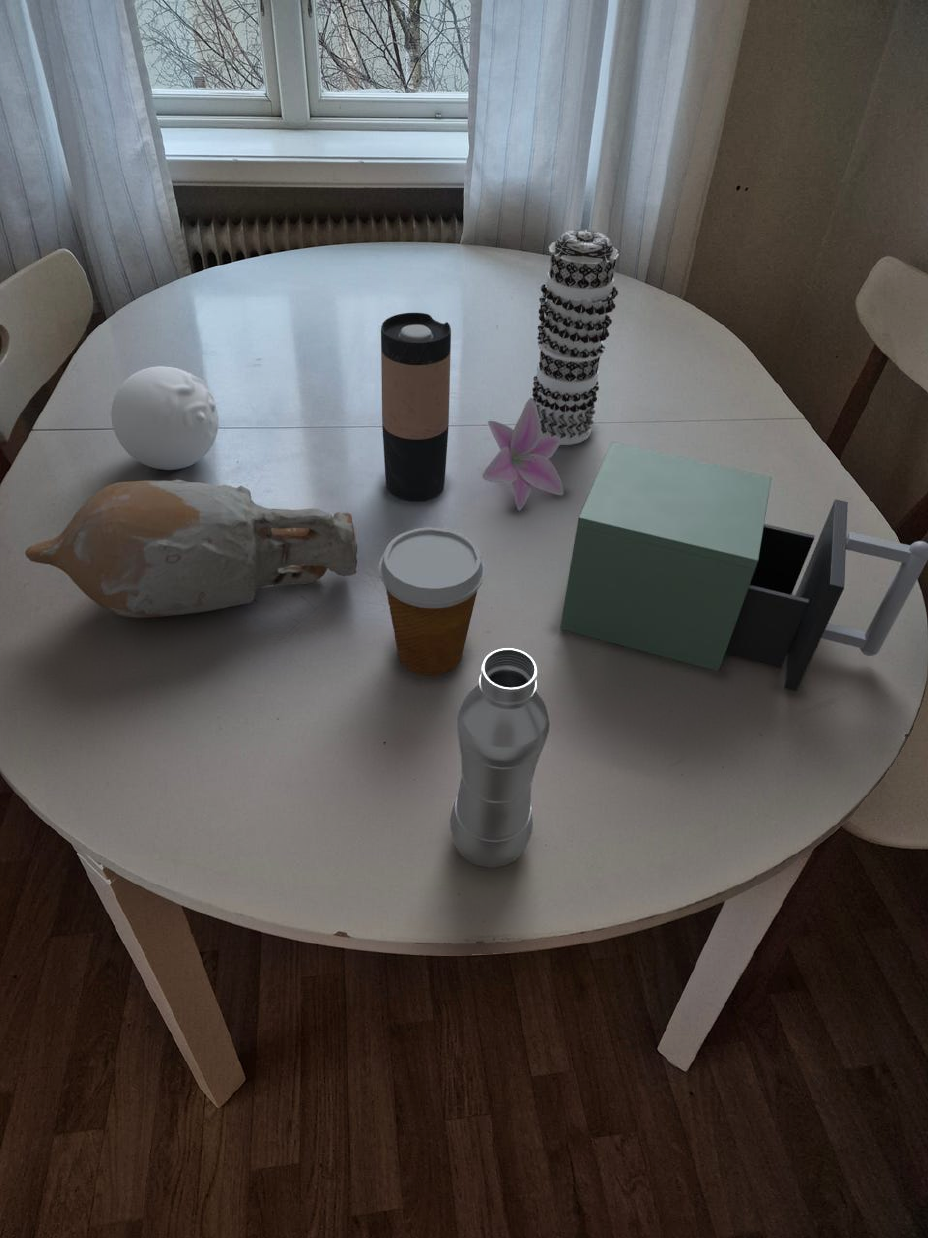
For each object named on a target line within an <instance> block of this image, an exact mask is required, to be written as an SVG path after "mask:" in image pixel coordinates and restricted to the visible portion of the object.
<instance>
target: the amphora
mask: <svg viewBox="0 0 928 1238" xmlns="http://www.w3.org/2000/svg"><path fill="white" fill-rule="evenodd" d="M358 546H359V545H358V543H357V539H356V531H355V526H354V523H353V517H352V514H350V513H349V512H335V513H334V514H333V515H332V514H331V513H329V512H327V511H324V510H322V509H320V508H317V507H312V508H301V509H287V508H269V507H265V506H262V505H259V504H257V503H255V502H254V500H253V498H252V493H251V490H250V489H248V488H246V487H244V486H242V485H239V486H238V487H234V486H231V485H229V484H228V485H227V484H222V485H217V484H210V483H209V484H208V483H204V482H198V481H197V482H195V481H193V482H192V481H185V480H183V479H174V480H133V481H121V482H120V481H119V482H114V483H111V484H108V485H106V486H104V487H103V488H102V489H100V490H98V491H96V493H94V494H92V496H90V497H89V498H88V499H87V500H86V501H85V502H84V503H83V504H82V505H81V506H80V507H79V509H78V510H77V511H76V513H75V514H74V515H73V516H72V518H71V519H70V521H69V522H68V524H67V525H66V527H65V528H64V529H63V530H62V532H61V533H60V534H59V535H57V536H56V537H54V538H52V539H49V540H45V541H41V542H38V543H34V544H32V545H30V546H28V547H27V548H26V549H25V557H26V558H27V559H28V560H29V561H30V562H33V563H37V564H43V565H49V566H51V567H55V568H57V569H59V570H61V571H62V572H64V573H65V574H66V575H67V576H68V577H69V579H70V580H71V581H72V582H73V583H74V584H75V585H76V586H77V587H78V588H79V590H81V591H82V593H83V594H84V595H86V596H87V597H88V598H89V599H90V600H92V601H93V602H94V603H95V604H97V605H98V606H99V607H101V608H102V609H104V610H106V611H108V612H109V613H111V614H114V615H118V616H121V617H125V618H136V619H137V618H139V619H140V618H142V619H143V618H157V617H159V618H160V617H169V616H180V615H189V614H195V613H196V614H197V613H203V612H209V611H215V610H221V609H227V608H230V607H237V606H241V605H246V604H250V603H252V602H254V599H255V598H256V597H255V596H256V592H257V589H258V588H263V587H267V586H268V587H269V586H279V585H280V586H281V585H296V584H299V585H300V584H301V585H302V584H303V585H308V584H310V583H316V582H317V581H319V580H321V578H322V577H323V576H324V575H325V574H326V572H327V570H329V571H330V572H333V573H335V574H336V575H337V576H341V577H350V576H352V575H356V573H357V567H358V566H357V565H358V557H357V554H358Z"/></svg>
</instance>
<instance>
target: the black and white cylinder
mask: <svg viewBox="0 0 928 1238" xmlns="http://www.w3.org/2000/svg"><path fill="white" fill-rule="evenodd" d="M548 249H549V253H550V254H551V257H550V261H549V262H550V265H549V271H548V272H547V275H546V284H542V285H541V286H540V291H541V292H542V295H541V296H540V297H539V299H538V300H539V303H540V305H539V306H540V308H539V309H538V314H539V315H538V320H539V321H540V324H539V325H538V326H537V330H538V333H537V334H538V336H537V337H536V339H537V346H538V349H539V350H540V352H539V361H538V363H537V364H536V365H537V366H536V374H535V375H534V376H533V383H532V384H533V387H532V397H531V398H532V399H533V400H534V402H535V404H536V407H537V410H538V414H539V418H540V423H541V436H554V437H558V438H560V439H561V443H560V445H559V446H573V445H576V444H581V443H582V442H584V441H586V440H587V439H589V437H590V435H591V433H592V427H591V426H592V425H594V420H593V419H594V416H593V415H595V413H596V410H595V403H596V402H597V401H598V397H597V392H598V391H599V390H600V386H599V381H598V380H599V374H600V371H599V365H600V359H601V357H602V356H603V354H604V353H605V351H606V346H605V342H604V341H606V340H607V338H608V337H610V332H609V329H608V328H609V327H610V325H612V322H613V320H612V319H611V317H610V315H609V313H612V312H613V310H615V308H616V303H615V301H614V299H616V297H617V296H618V294H619V291H618V289H617V287H616V286H614V283H615V279H614V274H615V267H616V261H617V258H618V257H619V255H620V254H619V251H618V249H617V248H616V247H614V246H613V245H612V242H611V239H610V238H609V237H608V236H607V235H606V234H603V233H601V232H598V231H595V230H590V229H571V230H568V231H565V232H563V233H562V234H561V235H560V237H559V238H557V240H555V241H553V242H551V244H550V245H549V246H548Z"/></svg>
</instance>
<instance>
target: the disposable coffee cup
mask: <svg viewBox="0 0 928 1238" xmlns="http://www.w3.org/2000/svg"><path fill="white" fill-rule="evenodd" d="M486 571H487V569H486V563H485V561H484V560H483V557H482V556H481V552H480V550H479V547H478V546H477V545H476V544H475V542H474V541H472V540H471V539H470V538H469V537H467V536H466V535H464V534H463V533H460V532H458V531H456V530H452V529H449V528H443V527H435V526H434V527H432V526H430V527H419V528H415V529H412V530H408V531H405V532H403V533H401V534H398V535H397V536H396V537H394V538H393V539H392V540H391V541H389V543H388V544H387V545H386V548H385V550H384V553H383V554H382V556H381V557H380V560H379V562H378V574H379V579H380V580H381V582H382V584H383V585H384V588H385V590H386V596H387V601H388V606H389V611H390V612H389V613H390V616H391V617H390V619H391V624H392V629H393V634H394V639H395V645H396V648H397V655H398V659H399V661H400V663H401V664H402V665H403V666H404V667H405V668H406V669H408V670H409V671H411V672H413V673H415V674H419V675H422V676H423V675H424V676H438V675H443V674H445V673H449V672H450V671H452V670H453V669H454V668H456V667H457V666H458V665H459V664H460V663H461V660H462V658H463V653H464V648H465V644H466V641H467V637H468V633H469V632H468V631H469V629H470V624H471V619H472V615H473V611H474V606H475V603H476V598H477V595H478V594H477V593H478V590H479V589H480V587H481V586H482V584H483V582H484V580H485V577H486Z"/></svg>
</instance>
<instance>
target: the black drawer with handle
mask: <svg viewBox="0 0 928 1238" xmlns="http://www.w3.org/2000/svg"><path fill="white" fill-rule="evenodd" d="M848 503H849V502H848V501H845V500H840V499H834V501H833V503H832V505H831V508H830V510H829V513H828V515H827V518H826V520H825V522H824V525H823V526H822V529H821V532H820V535H819V537H818V540H817V542H816V543H815V547H814V548H813V549H814V550H813V552H812V554H811V557H810V559H809V561H808V565H807V566H806V569H805V571H804V574H803V576H802V578H801V581H800V583H799V586H798V588H797V590H796V592H795V595H793V592H794V590H795V588H796V585H797V583H798V580H799V577H800V575H801V573H802V570H803V568H804V565H805V562H806V560H807V558H808V555H809V553H810V550H811V548H812V545H813V544H814V540H815V535H814V534H811V533H806V532H802V531H798V530H793V529H789V528H784V527H781V526H775V525H771V524H768V523H764V528H763V534H762V540H761V547H760V553H759V559H758V563H757V566H756V568H755V571H754V574H753V577H752V580H751V582H750V585H749V588H748V591H747V594H746V596H745V599H744V602H743V605H742V608H741V610H740V613H739V616H738V619H737V621H736V624H735V627H734V630H733V633H732V635H731V638H730V641H729V644H728V647H727V649H726V652H725V655H727V656H731V657H735V658H738V659H742V660H746V661H750V662H754V663H757V664H761V665H764V666H768V667H773V668H776V669H779V670H781V669H782V667H783V664H784V662H785V660H786V659H787V660H786V666H785V676H784V687H783V688H784V689H787V690H791V691H794V692H797V691H798V690H799V688H800V685H801V684H802V681H803V679H804V677H805V674H806V672H807V670H808V667H810V666H809V665H810V664H811V661H812V660H813V657H814V655H815V653H816V650H817V648H818V646H819V644H820V642H821V639H823V640H826V641H827V640H828V641H831V642H836V643H839V644H843V645H847V646H851V647H855V648H859V649H860V651H861V653H862V654H863V655H864V656H868V657H873V656H875V655H877V654H878V653H879V652H880V650H881V649H882V647H883V644H884V643H885V641H886V639H887V637H888V635H889V634H890V631H891V630H892V628H893V626H894V624H895V622H896V620H897V618H898V617H899V614H900V613H901V611H902V609H903V607H904V605H905V603H906V601H907V600H908V598H909V596H910V593H911V592H912V590H913V588H914V587H915V585H916V582H917V581H918V579H919V578H920V575H921V573H922V571H923V569H924V567H925V566H926V564H927V562H928V543H927V542H926V541H923V540H918V541H914V542H913V543H911V544H906V543H901V542H897V541H892V540H887V539H884V538H879V537H875V536H871V535H866V534H862V533H856V532H854V531H849V532H848V534H847V529H848V528H847V527H848ZM847 551H851V552H855V553H860V554H863V555H868V556H871V557H876V558H881V559H885V560H890V561H894V562H897V563H900V565H899V567H898V569H897V571H896V572H895V575H894V576H893V578H892V580H891V583H890V584H889V586H888V588H887V590H886V591H885V594H884V596H883V598H882V600H881V602H880V604H879V606H878V608H877V610H876V612H875V614H874V616H873V618H872V620H871V622H870V623H869V626H868V627H867V630H866V631H862V630H859V629H855V628H850V627H847V626H843V625H838V624H835V623H830V620H831V618H832V616H833V614H834V612H835V609H836V607H837V604H838V602H839V600H840V598H841V596H842V594H843V592H844V590H845V582H846V581H845V579H846V552H847Z"/></svg>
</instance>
